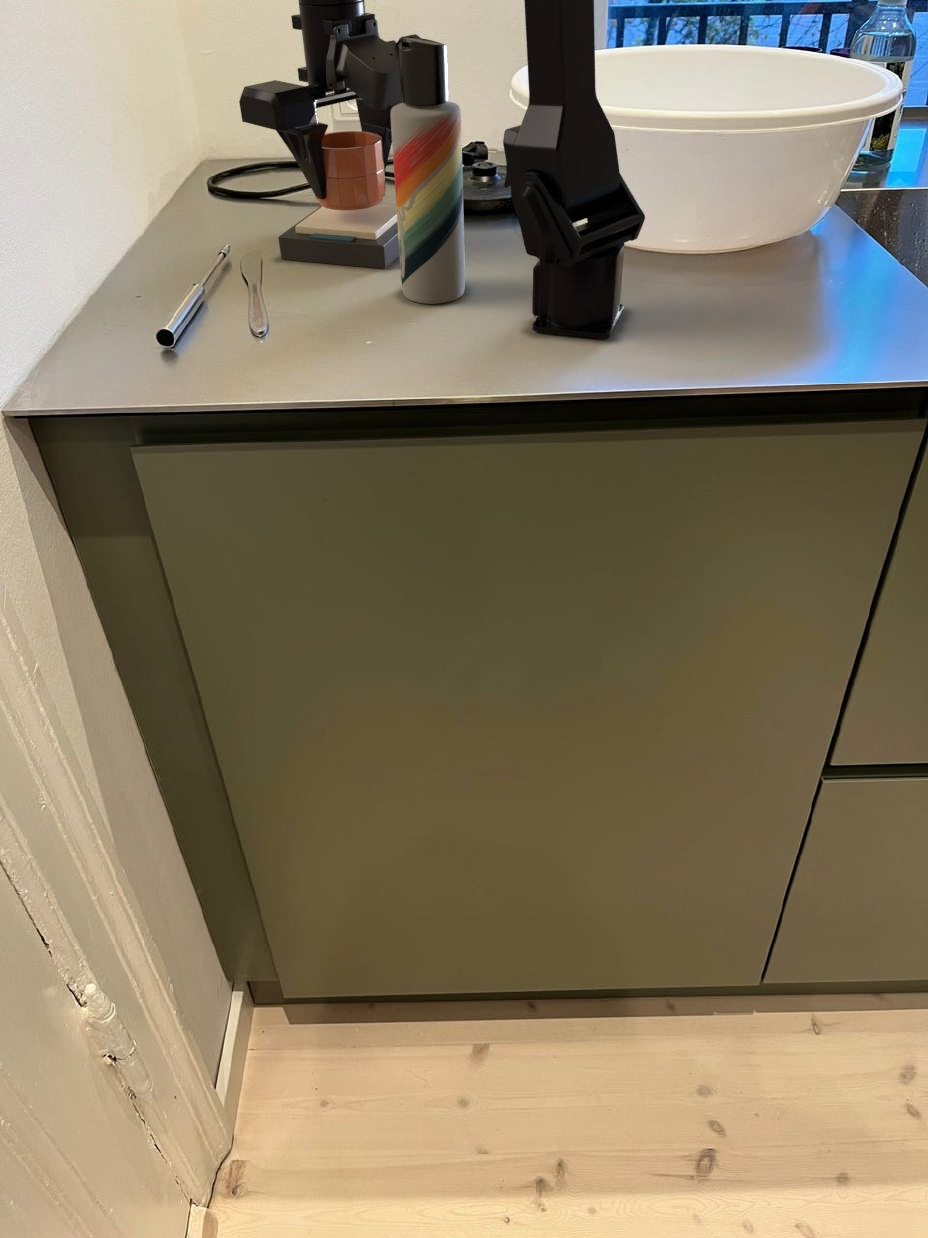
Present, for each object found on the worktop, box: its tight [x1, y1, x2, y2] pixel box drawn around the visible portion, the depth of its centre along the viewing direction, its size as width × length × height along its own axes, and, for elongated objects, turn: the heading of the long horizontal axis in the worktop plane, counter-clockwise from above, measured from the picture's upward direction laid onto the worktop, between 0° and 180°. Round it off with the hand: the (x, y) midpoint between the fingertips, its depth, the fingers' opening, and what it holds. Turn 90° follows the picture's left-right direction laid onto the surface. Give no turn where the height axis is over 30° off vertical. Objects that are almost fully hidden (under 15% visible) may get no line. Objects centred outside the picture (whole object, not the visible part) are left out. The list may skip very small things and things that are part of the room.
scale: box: [278, 203, 400, 270], centre depth 97 cm, size 11×11×3 cm
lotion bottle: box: [391, 37, 466, 305], centre depth 81 cm, size 6×6×20 cm
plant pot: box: [314, 130, 387, 210], centre depth 93 cm, size 7×7×6 cm
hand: (349, 189), depth 94 cm, fingers closed on plant pot, 7 cm apart
